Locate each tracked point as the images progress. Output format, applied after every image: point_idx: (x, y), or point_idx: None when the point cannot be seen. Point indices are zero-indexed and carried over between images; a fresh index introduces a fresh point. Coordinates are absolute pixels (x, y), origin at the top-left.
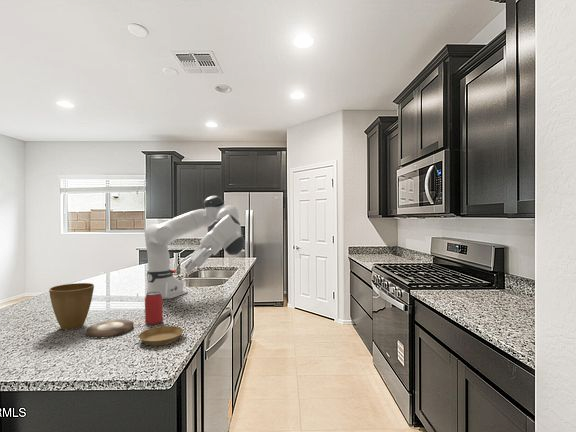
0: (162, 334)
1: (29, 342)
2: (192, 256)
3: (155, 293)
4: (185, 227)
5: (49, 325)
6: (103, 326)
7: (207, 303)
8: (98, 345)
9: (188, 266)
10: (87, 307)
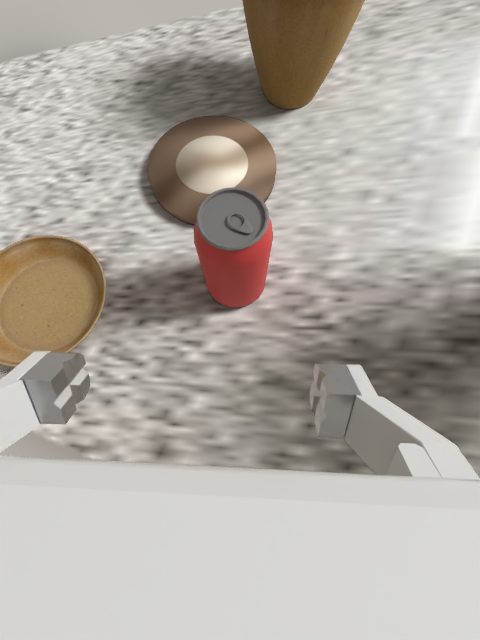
0: (88, 306)
1: (202, 43)
2: (294, 519)
3: (229, 225)
4: None
5: None
6: (217, 148)
7: None
8: (99, 163)
9: (322, 411)
10: (280, 57)
